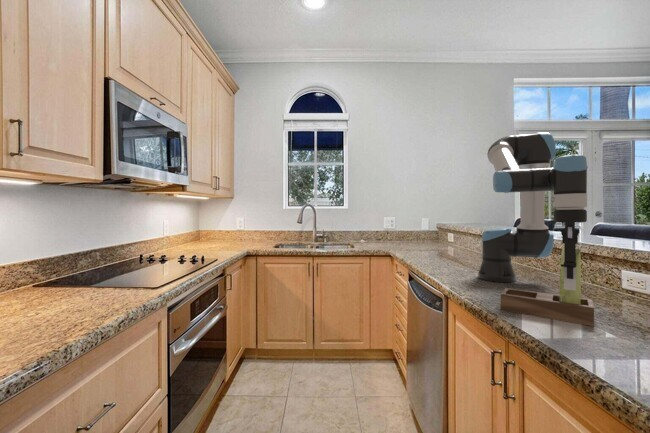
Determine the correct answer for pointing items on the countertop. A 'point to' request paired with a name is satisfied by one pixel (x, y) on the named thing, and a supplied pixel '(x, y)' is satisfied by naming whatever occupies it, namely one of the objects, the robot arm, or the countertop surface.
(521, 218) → the robot arm
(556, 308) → the brown wooden slotted holder
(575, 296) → the tube
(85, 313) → the countertop surface
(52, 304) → the countertop surface
